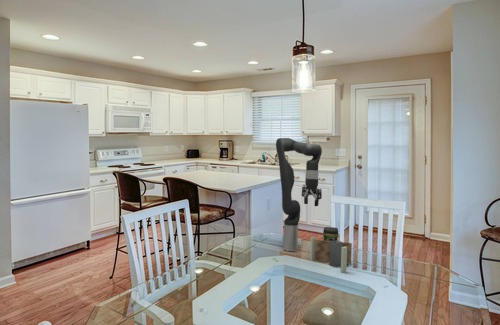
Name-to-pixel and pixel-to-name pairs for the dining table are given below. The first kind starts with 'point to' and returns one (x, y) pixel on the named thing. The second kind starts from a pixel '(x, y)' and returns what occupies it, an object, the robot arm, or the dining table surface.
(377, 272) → the dining table surface
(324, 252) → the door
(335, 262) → the iron block
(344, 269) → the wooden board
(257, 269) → the dining table surface
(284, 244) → the robot arm
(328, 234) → the coffee jar
